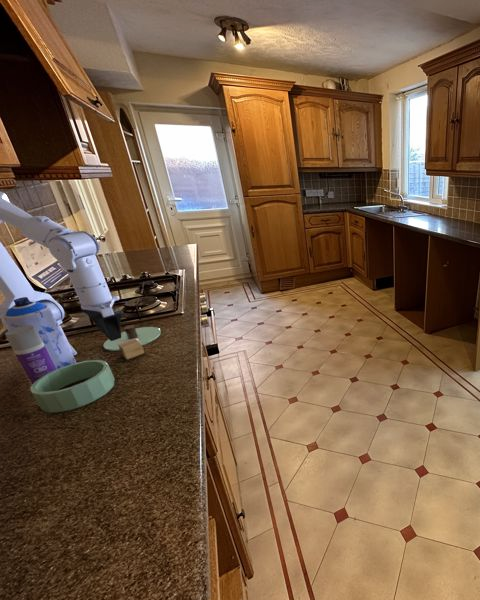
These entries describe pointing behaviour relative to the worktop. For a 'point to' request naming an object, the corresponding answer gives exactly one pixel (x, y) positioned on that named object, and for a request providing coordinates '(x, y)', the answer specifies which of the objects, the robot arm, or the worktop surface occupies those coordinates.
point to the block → (131, 348)
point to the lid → (134, 336)
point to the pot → (77, 394)
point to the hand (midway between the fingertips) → (111, 334)
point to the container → (30, 352)
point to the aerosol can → (41, 328)
